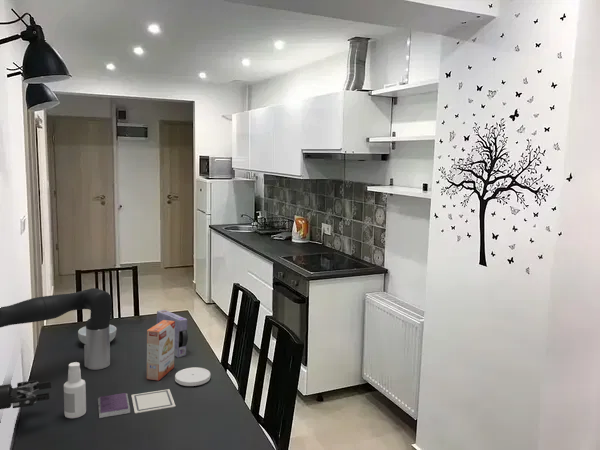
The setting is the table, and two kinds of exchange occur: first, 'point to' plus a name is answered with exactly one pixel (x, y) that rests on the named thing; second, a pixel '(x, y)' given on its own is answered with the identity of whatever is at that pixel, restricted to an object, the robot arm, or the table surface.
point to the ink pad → (113, 405)
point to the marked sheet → (152, 401)
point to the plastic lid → (192, 376)
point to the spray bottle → (74, 393)
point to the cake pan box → (176, 331)
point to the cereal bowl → (83, 333)
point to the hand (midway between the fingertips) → (50, 390)
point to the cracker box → (160, 349)
